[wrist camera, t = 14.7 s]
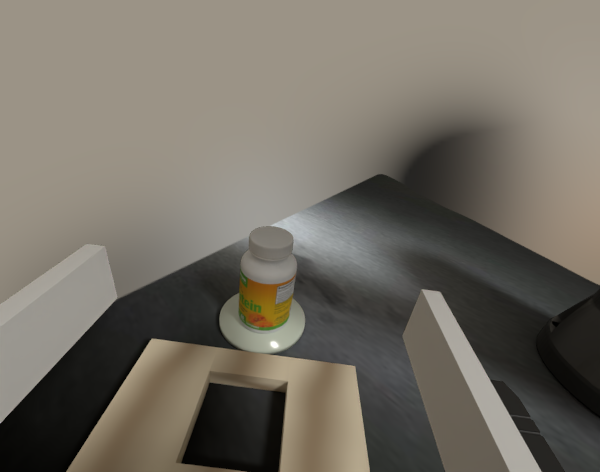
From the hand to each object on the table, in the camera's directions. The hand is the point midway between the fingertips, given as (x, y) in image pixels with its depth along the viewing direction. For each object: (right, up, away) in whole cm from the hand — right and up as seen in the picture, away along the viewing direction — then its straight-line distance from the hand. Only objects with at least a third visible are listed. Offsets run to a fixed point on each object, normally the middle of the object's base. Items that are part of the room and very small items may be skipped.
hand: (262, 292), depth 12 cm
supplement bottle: (-2, -6, +18) cm, 20 cm away
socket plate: (-3, -12, +9) cm, 15 cm away
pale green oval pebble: (-2, -7, +19) cm, 20 cm away
